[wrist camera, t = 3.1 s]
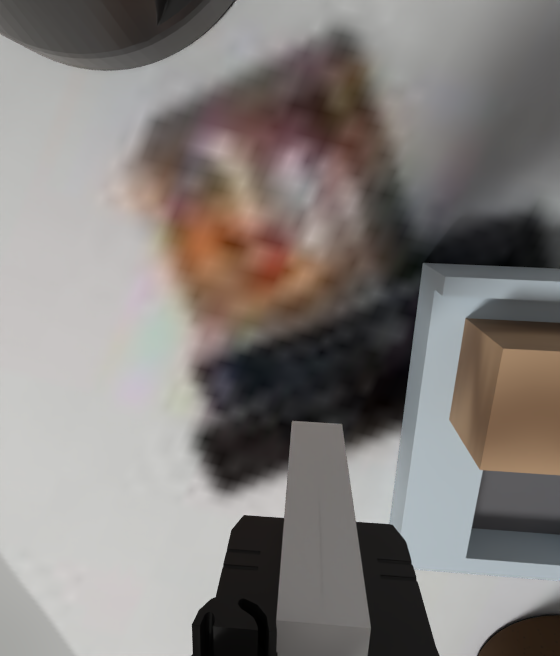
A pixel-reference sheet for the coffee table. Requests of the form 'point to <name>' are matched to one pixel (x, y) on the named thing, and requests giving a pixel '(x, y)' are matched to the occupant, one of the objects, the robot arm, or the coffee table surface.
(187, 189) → the coffee table surface
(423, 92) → the coffee table surface
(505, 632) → the olive oil
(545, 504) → the board
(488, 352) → the brown block
